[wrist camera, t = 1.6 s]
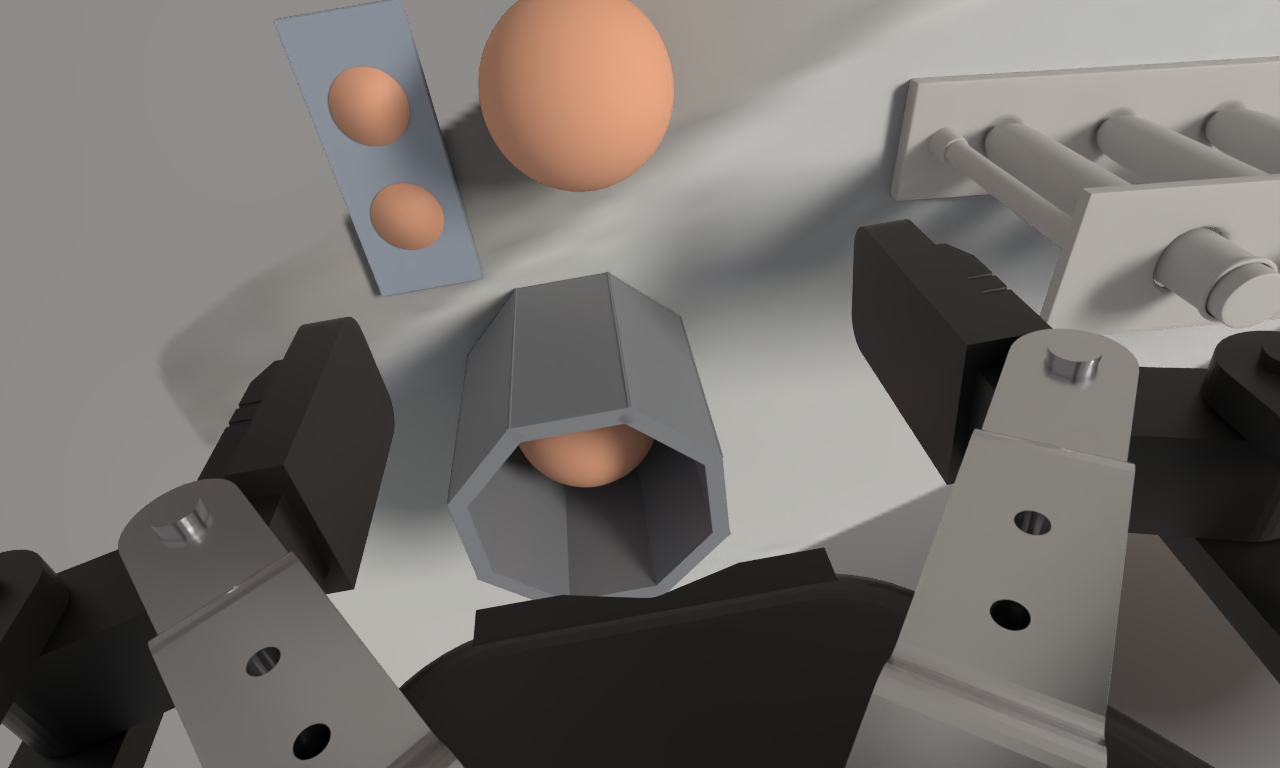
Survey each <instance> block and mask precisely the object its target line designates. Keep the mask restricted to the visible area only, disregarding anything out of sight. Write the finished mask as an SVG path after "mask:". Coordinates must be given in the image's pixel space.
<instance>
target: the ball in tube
mask: <svg viewBox="0 0 1280 768" xmlns="http://www.w3.org/2000/svg"><path fill="white" fill-rule="evenodd" d="M653 442H654V438H652V437H650V436H648V435H646V434H644V433H642V432H640V431H638V430H636V429H634V428H632V427H630V426H628V425H627V424H621V425H615V426H610V427H604V428H598V429H593V430H587V431H581V432H576V433H570V434H565V435H559V436H553V437H548V438H542V439H536V440H531V441H525V442H521V443H520V444H519V446H520V448H521V450H522V452H523V453H524V455H525V457H526V458H527V459H528V460H529V461H530V463H531V464H532V465H533V466H534V467H535V468H536V469H537V470H538V471H540V472H541V473H543V474H544V475H546V476H547V477H549V478H550V479H552V480H554V481H557V482H559V483H562V484H566V485H570V486H575V487H596V486H601V485H605V484H608V483H611V482H614V481H616V480H618V479H620V478H622V477H624V476H625V475H627V474H628V473H630V472H631V471H632V470H633V469H634V468H635V467H637V466H638V465H639V464H640V463H641V461H642V460H643V459H644V458H645V456H646V455H647V453H648V451H649V450H650V448H651V446H652V444H653Z"/></svg>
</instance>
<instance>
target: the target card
mask: <svg viewBox="0 0 1280 768" xmlns="http://www.w3.org/2000/svg"><path fill="white" fill-rule="evenodd" d="M274 24H275V26H276V29H277V32H278V34H279V37H280V39H281V42H282V44H283V47H284V49H285V52H286V54H287V57H288V60H289V62H290V65H291V67H292V70H293V72H294V75H295V77H296V80H297V82H298V85H299V87H300V90H301V92H302V95H303V97H304V100H305V102H306V105H307V107H308V110H309V112H310V115H311V117H312V120H313V123H314V125H315V128H316V130H317V133H318V135H319V138H320V140H321V143H322V145H323V148H324V150H325V153H326V155H327V158H328V161H329V163H330V166H331V168H332V171H333V173H334V176H335V178H336V181H337V183H338V186H339V188H340V191H341V193H342V196H343V198H344V201H345V204H346V206H347V209H348V211H349V214H350V216H351V219H352V221H353V224H354V226H355V229H356V231H357V234H358V236H359V239H360V241H361V244H362V247H363V249H364V252H365V254H366V257H367V259H368V262H369V264H370V267H371V269H372V272H373V274H374V277H375V279H376V282H377V284H378V287H379V289H380V292H381V295H382V296H387V295H393V294H399V293H404V292H410V291H416V290H421V289H427V288H433V287H438V286H444V285H450V284H456V283H461V282H467V281H473V280H478V279H483V272H482V268H481V265H480V262H479V258H478V255H477V252H476V248H475V245H474V241H473V238H472V235H471V231H470V228H469V225H468V221H467V218H466V214H465V211H464V208H463V204H462V201H461V198H460V194H459V191H458V187H457V184H456V181H455V177H454V174H453V171H452V167H451V164H450V161H449V157H448V154H447V150H446V147H445V144H444V140H443V137H442V134H441V130H440V127H439V123H438V120H437V117H436V113H435V110H434V107H433V104H432V100H431V96H430V93H429V90H428V86H427V83H426V80H425V76H424V73H423V70H422V66H421V63H420V60H419V56H418V53H417V49H416V46H415V43H414V39H413V36H412V32H411V29H410V26H409V23H408V19H407V16H406V12H405V9H404V6H403V2H402V0H382V1H376V2H371V3H365V4H359V5H354V6H348V7H342V8H336V9H330V10H325V11H319V12H313V13H307V14H301V15H296V16H290V17H284V18H278V19H276V20H274Z"/></svg>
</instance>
